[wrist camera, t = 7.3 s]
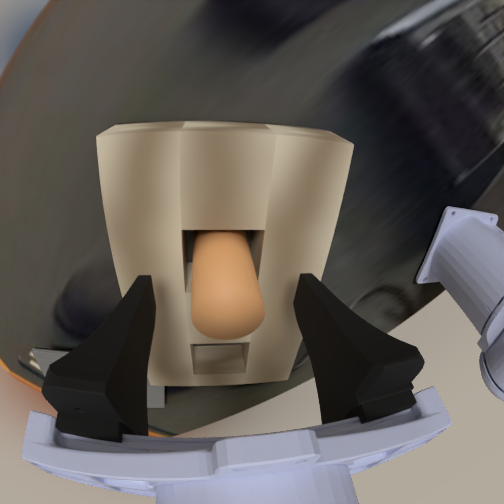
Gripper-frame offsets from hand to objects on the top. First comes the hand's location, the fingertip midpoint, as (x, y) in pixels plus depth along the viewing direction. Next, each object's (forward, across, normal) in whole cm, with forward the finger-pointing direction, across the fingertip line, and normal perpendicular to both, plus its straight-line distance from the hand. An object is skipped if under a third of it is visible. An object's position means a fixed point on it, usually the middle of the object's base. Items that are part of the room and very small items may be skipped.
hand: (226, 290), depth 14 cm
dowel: (+5, 0, 0) cm, 5 cm away
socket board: (+6, 0, +3) cm, 6 cm away
